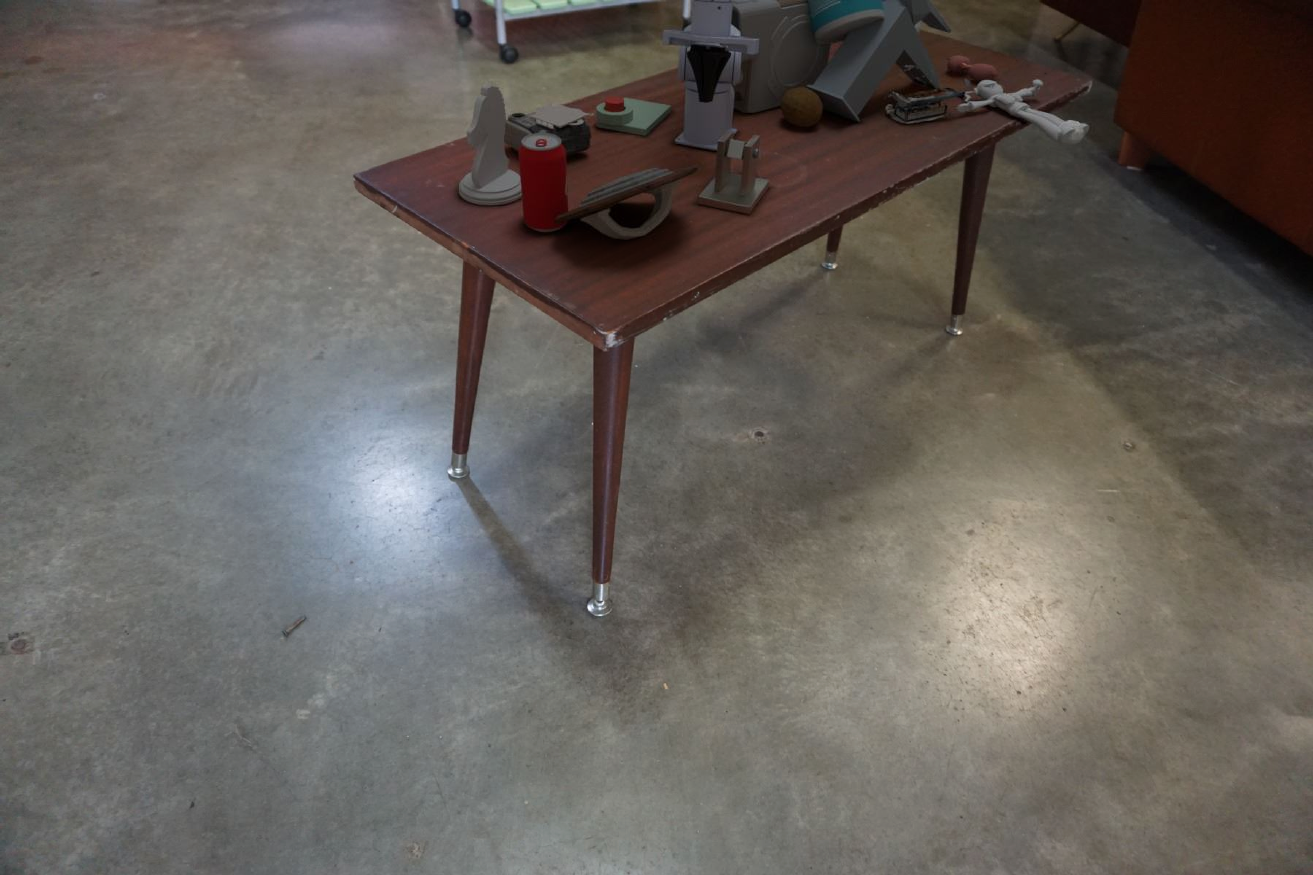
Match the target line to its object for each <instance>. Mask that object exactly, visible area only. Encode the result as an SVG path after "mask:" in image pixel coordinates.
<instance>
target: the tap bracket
mask: <svg viewBox="0 0 1313 875" xmlns="http://www.w3.org/2000/svg"><path fill="white" fill-rule="evenodd" d="M733 135H734V131H731V130H727V131H726V132H725V133H724V134H723V136H722V137H721V138H720V139H719V140H718V145H717V151H716V161H715V174H714V177H713V178H712V179H711V180H710V182H709V183H708V184H707V185H706V186H705V187H704V188H703V190H702V191H701V193H700V194H699V195H698V196H697V205H702V206H707V207H710V208H711V207H712V208H716V209H719V210H726V211H731V212H736V213H741V214H744V215H745V214H746V215H750V214H751V213H752V212H753V210H754V209H755V208H756V206H757V205H758V204H759V202H760V200H761V199H762V198H763V196H764V195H765V194H766V191H768V189H769V187H770V182H771V180H770V179H765V178H760V177H757V170H758V169H757V168H758V164H757V161H758V156H759V149H760V142H761V135H757V134H753V135H752V136H751V137H750V139H748V141H747V142H746V143H747V144H746V145H745V149H744V159H743V160H742V162H743V163H742V168H741V169H742V170H741V174H740V173H735V172H731V167H732V158H730V157H727V153H728V149H729V144H730V140H734V136H735V135H734V136H733Z"/></svg>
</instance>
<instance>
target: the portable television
mask: <svg viewBox="0 0 1313 875" xmlns="http://www.w3.org/2000/svg"><path fill="white" fill-rule="evenodd" d="M732 2H733V6H732V19H731V24H732V25H733V26H734V27H735V28H736V29H738V30H739V31H740V33H741V34H740V36H742V37H748V38H756V39H759V48H758V53H757V54H747V53H742V55H741V67H740V78H739V82H738V83H737V84H736V85H732V84H733V83H732V84H731V85H732V87H733V90H734V107H733V109H735V110H737V111H739V112H741V113H742V114H743V113H744V114H746V113H748V114H749V113H751V114H754V113H759V112H762V111H766V110H770V109H774V108H778V107H781V101H782V98H783V96H784V95H785V93H786V92H787V91H789V90H790V89H792V88H797V87H804V88H807V85H813V84H814V83H815V81H816V80H817V79H818V77H819V76H820V74H821V73H822V71H823V70H824V69H825V67H826V66H827V64H828V63H829V58H830V52H831V44H819V43H817V42H816V40H815V36H814V32H813V28H812V23H811V18H810V12H809V4H808V2H807V0H733V1H732ZM807 89H808V88H807Z"/></svg>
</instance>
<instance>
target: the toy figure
mask: <svg viewBox="0 0 1313 875" xmlns="http://www.w3.org/2000/svg"><path fill="white" fill-rule="evenodd" d="M997 82H998V81H995V80H983V81H981V82H980V81H979V83H978V84H977V85H976V87H973V90H971V91H966V93H965V96H964V98H965V100H964V102H966V103H961V104H958V105H957V106H956V107H955V109H956V111H957V112H958V113H964V112H968V111H969V112H973V111H976V110H978V109H981V108H983V107H985V106H989V107H991V108H999V109H1000V110H1003V111H1005V112H1007V113H1008V114H1009V115H1010V116H1011V117H1012V116H1013V117H1014V118H1021V119H1023V120H1025V121H1026V122H1029V123H1030V124H1032V125H1034V126H1035V127H1038V129H1040V131H1042V132H1043V133H1044V134H1045V135H1046V136H1047V137H1048V138H1050V139H1051V140H1052V141H1053V142H1056V143H1059V144H1061V145H1067V144H1068V145H1076V144H1079V143H1080V142H1081V141H1082V140H1083V139H1084V138H1085V136H1086V134H1087V133H1088V132H1089V130H1090V125H1089V124H1087V123H1085V122H1079V121H1077V120H1073V119H1069V120H1063V119H1061V118H1060V117H1058V116H1056V115H1054V114H1052V113H1049V112H1045V111H1041V110H1037V109H1033V108H1031V106H1030V105H1028V104H1027V103H1025V102H1023V101H1024V99H1023V98H1029V97H1032V98H1033V97H1034V98H1035V97H1036V96H1037V94H1038V92H1039V91H1040V90H1041V88H1042V87H1043V86H1044V82H1043V81H1042V80H1041V79H1038V78H1036V79H1033V80H1032V83H1031V84H1032V85H1033V86H1030V87H1029V88H1026V87H1024V88H1022V89H1021V88H1020V90H1018V91H1016V92H1008V93H1007V92H1004V89H1003V87H1002V85H1001V84H999V83H997ZM970 94H975V97H979V98H980V99H982V100H979V101H974V100H970V99H971V98H972V97H971V96H970Z"/></svg>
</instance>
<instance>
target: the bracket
mask: <svg viewBox="0 0 1313 875" xmlns="http://www.w3.org/2000/svg"><path fill="white" fill-rule="evenodd" d="M882 5H883V10H884V16H885V18H884V19H880V20H877V21H875V22H872V23H869V24H867V25H864V26H862V27H859V28H856V29H854V30H851V31H850V33H849V34H848V35H847V37H846V38H845V40H844V41H842V42H841V44H840V45H839V47H838V49H837V50H836V51H835V53H834V54H833V56H832V57H831V58H830V60H828V64H827V66H826V67H825V69H824V70H823V71H822V73H821V74H820V76H819V77H818V79H817V80H816V81H815V83H814V84H813V85H807V88H808V89H809V90H811V91H813V92H814V93H816V94H817V95H818V96H819V98H820V100H821V102H822V104H823V110H826V111H828V112H832V113H834V114H836V115H838V116H842V117H844V118H846V119H850V120H852V121H855V122H857V123H860V117H859V115H860V113H861V112H862V111H863V109H864V107H865V106H866V105H867V103H868V102H869V101H870V99H871V97H872V96H873V95H874V93H875V92H876V90H877V89H878V87H879V86H880V85H881V83H882V82H883V81H884V79H885V77H886V76H887V75H888V73H889V72H890V71H891V69H892V68H893V66H894V65H895V64H896V66H898V68H899V69H900V70H901V69H902V70H901V72H903V73H904V74H905V75H906V76H907V77H908V79H910V81H912V83H913V84H915V85H919V86H922V87H924V88H928V89H930V90H933V89H936V88H939V86H940V76H939V74H938V71H937V69H936V67H935V65H934V63H933V60H932V59H931V56H930V54H929V52H928V51H927V48H926V47H925V45H924V42H923V40H922V38H921V37H920V33H919V34H918V32H917V30H916V28H915V25H916V24H917V23H918V22H923V23H924V24H925V25H926V26H927V27H929V28H931V29H934V30H937V31H941V32H944V33H948V34H951V33H952V29H951V28H950V26H949V25H948V23H947V22H946V21H945V20H944V18H943V17H942V15H941V14H940V13H939V11H938V9H937V8H936V7H935V5H934V4H933V2H931V0H882ZM906 65H907V66H911V67H909V68H908V67H904V66H906ZM915 65H916V66H915ZM917 67H918V69H917ZM908 69H910V70H908ZM904 70H906V71H904ZM932 70H933V71H934V72H933V71H932ZM912 75H913V76H912ZM923 76H925V77H923ZM918 78H919V79H918ZM918 80H919V81H918ZM931 80H932V81H931Z"/></svg>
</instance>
